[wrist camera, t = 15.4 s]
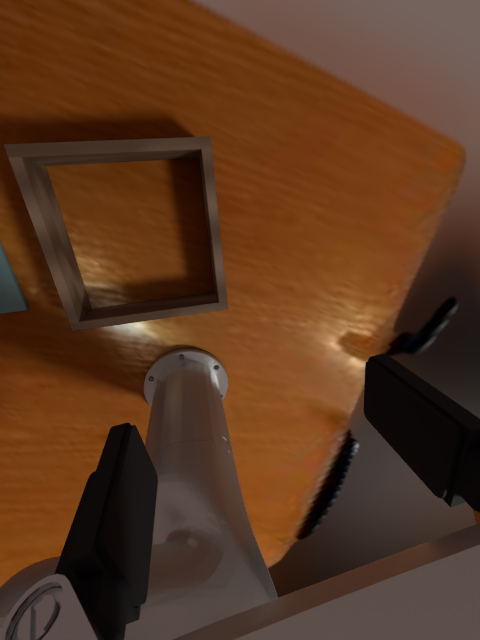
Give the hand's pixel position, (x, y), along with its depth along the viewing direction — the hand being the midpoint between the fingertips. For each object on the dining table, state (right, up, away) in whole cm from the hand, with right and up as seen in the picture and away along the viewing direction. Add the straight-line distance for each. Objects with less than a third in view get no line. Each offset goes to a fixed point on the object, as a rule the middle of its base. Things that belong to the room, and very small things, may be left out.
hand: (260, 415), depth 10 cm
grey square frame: (-13, +14, +21) cm, 28 cm away
